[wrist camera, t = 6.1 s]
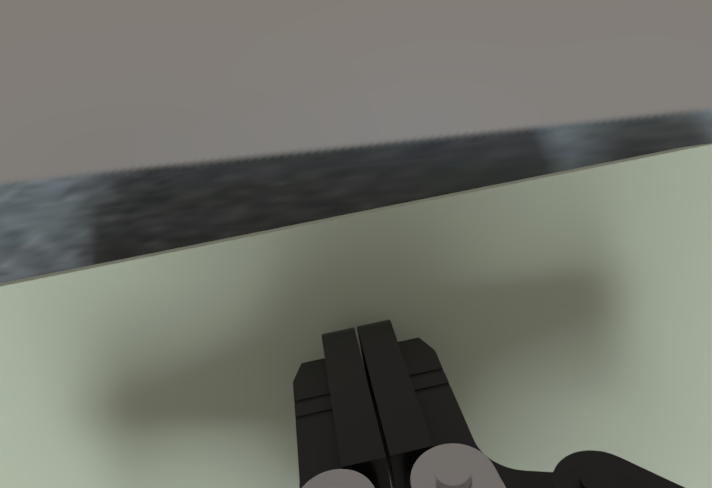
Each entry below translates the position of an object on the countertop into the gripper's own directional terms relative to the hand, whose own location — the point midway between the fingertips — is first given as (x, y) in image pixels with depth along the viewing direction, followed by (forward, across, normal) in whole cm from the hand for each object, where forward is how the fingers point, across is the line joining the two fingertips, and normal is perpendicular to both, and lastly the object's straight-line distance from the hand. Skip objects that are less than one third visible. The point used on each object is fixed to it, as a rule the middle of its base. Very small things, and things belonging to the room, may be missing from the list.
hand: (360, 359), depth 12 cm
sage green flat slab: (0, 0, +3) cm, 3 cm away
